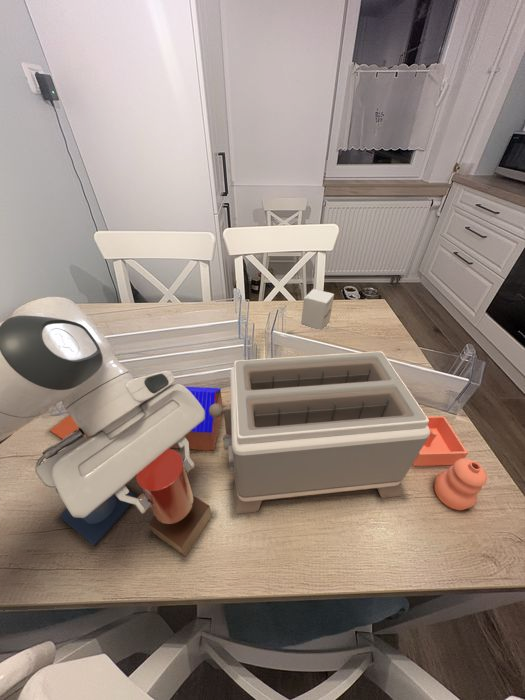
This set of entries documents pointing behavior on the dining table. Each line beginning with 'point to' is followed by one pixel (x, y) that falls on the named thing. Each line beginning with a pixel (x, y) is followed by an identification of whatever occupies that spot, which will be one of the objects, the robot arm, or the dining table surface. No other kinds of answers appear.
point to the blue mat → (98, 529)
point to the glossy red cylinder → (167, 487)
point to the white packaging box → (317, 309)
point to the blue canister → (101, 511)
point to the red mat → (65, 428)
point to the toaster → (319, 427)
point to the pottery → (462, 476)
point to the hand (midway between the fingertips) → (169, 487)
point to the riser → (183, 527)
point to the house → (208, 428)
